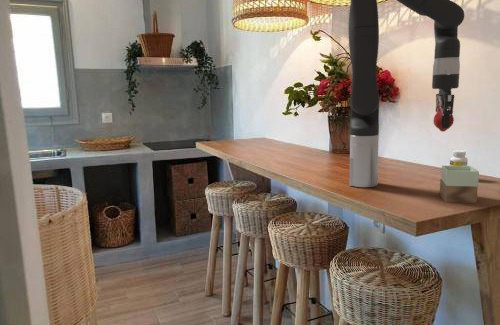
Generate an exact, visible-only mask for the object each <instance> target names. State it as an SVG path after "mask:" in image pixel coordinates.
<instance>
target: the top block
mask: <svg viewBox="0 0 500 325" xmlns="http://www.w3.org/2000/svg"><path fill="white" fill-rule="evenodd" d="M440 178H441V180H442V181H443V182H444V183H445V185H446V186H475V187H479V178H480V172H479V170H478V169H476V168H475V167H473V166H472V165H467V166H450V165H441V175H440Z"/></svg>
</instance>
